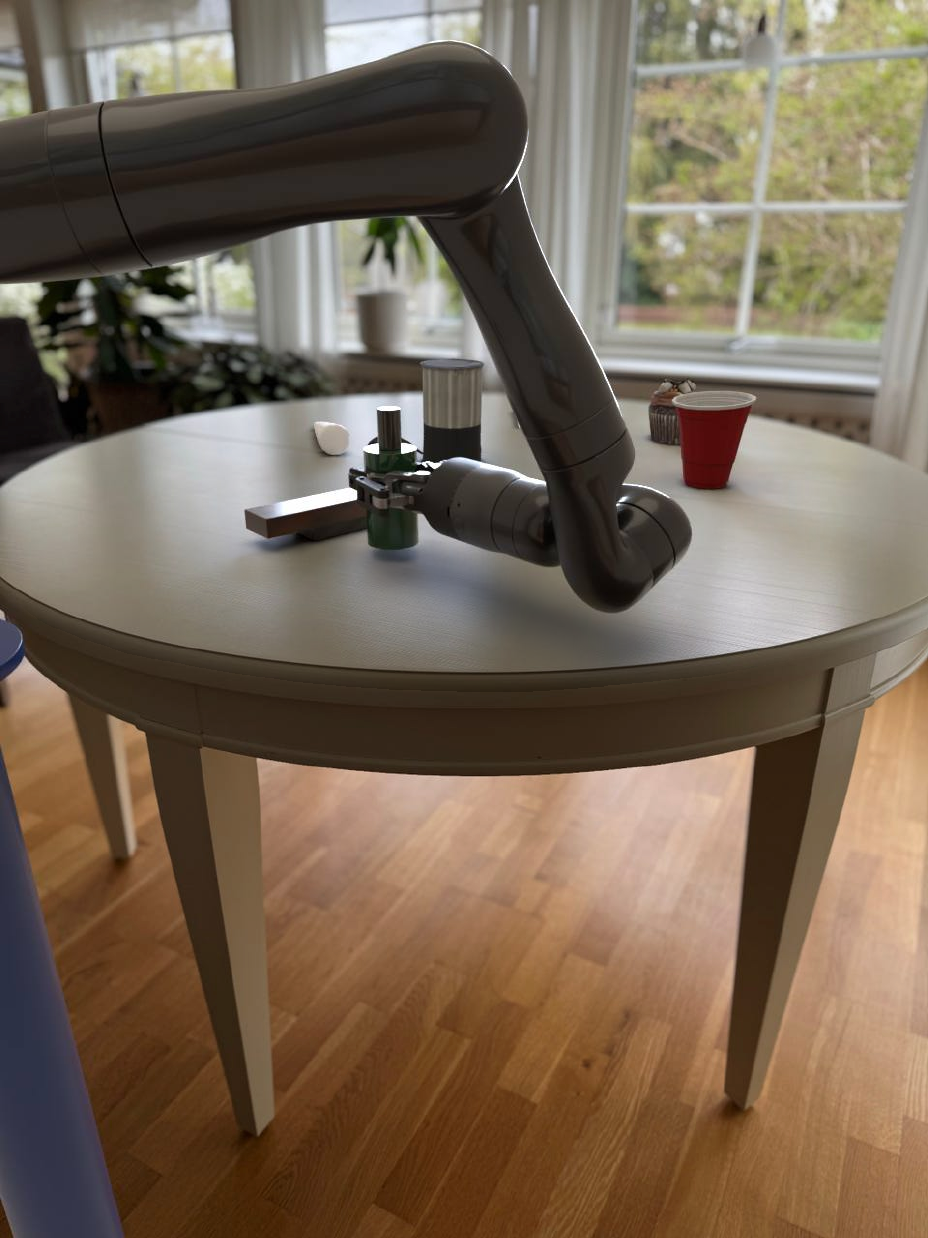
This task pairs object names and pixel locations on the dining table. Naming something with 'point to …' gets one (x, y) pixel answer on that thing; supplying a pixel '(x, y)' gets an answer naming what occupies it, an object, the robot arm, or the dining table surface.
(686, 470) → the plastic cup
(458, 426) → the milk frother
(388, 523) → the green bottle
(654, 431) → the cupcake
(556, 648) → the dining table surface
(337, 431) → the unicorn horn
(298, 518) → the brush
